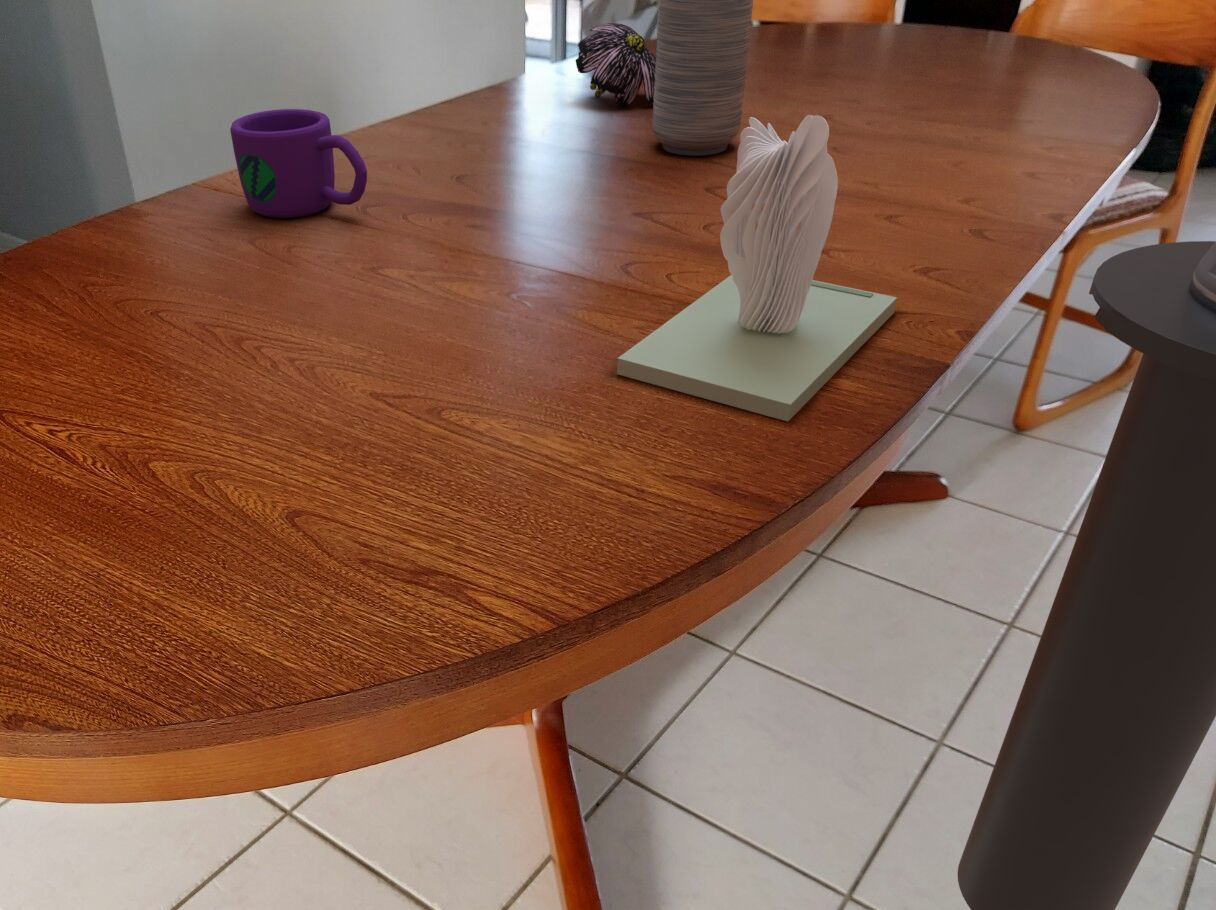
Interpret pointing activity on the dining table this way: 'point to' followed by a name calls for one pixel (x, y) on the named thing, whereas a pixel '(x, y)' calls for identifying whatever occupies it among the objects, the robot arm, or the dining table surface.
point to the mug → (292, 162)
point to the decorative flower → (618, 63)
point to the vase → (700, 74)
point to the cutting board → (757, 349)
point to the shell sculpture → (778, 220)
